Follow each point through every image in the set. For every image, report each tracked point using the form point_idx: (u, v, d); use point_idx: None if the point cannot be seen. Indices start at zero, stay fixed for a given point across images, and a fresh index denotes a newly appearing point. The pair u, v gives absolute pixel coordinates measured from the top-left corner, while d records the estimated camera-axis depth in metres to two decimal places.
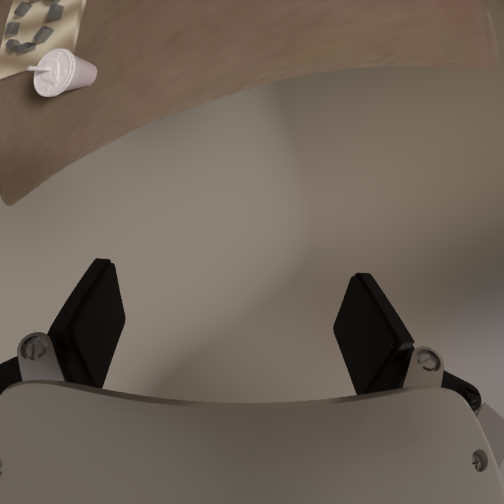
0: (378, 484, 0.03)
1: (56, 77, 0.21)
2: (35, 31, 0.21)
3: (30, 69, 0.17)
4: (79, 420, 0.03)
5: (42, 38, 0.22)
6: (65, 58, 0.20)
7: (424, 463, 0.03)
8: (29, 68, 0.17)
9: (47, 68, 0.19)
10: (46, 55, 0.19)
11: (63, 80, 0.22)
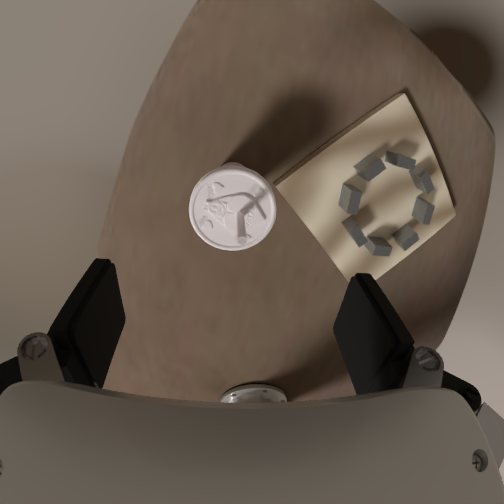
0: (378, 484, 0.03)
1: (213, 213, 0.20)
2: (374, 189, 0.28)
3: (238, 239, 0.16)
4: (79, 420, 0.03)
5: (346, 192, 0.27)
6: (226, 240, 0.21)
7: (424, 463, 0.03)
8: (240, 239, 0.16)
9: None
10: (268, 225, 0.20)
11: (198, 213, 0.20)
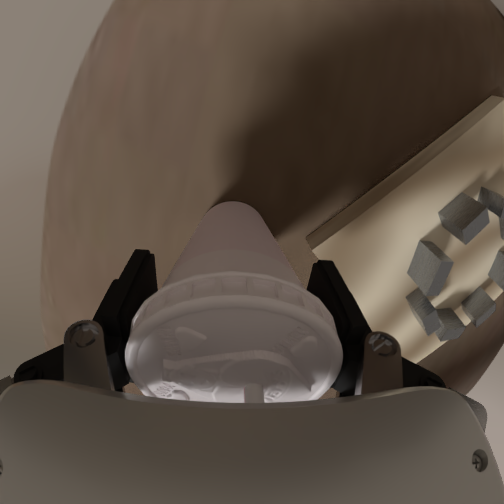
0: (378, 484, 0.03)
1: (185, 385, 0.07)
2: (457, 245, 0.15)
3: None
4: (79, 420, 0.03)
5: (427, 260, 0.14)
6: None
7: (424, 463, 0.03)
8: None
9: None
10: (316, 393, 0.08)
11: (153, 376, 0.07)
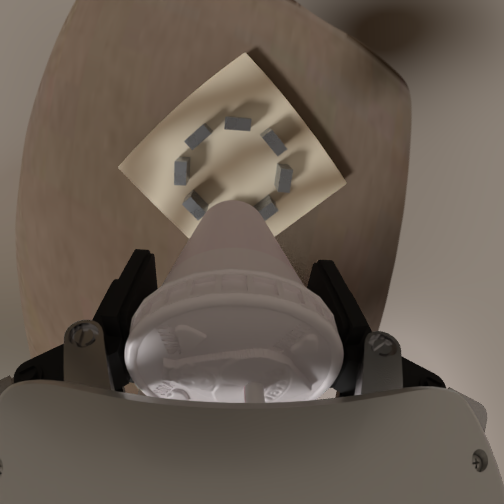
0: (378, 484, 0.03)
1: (185, 384, 0.07)
2: (217, 158, 0.27)
3: None
4: (79, 420, 0.03)
5: None
6: None
7: (424, 463, 0.03)
8: None
9: None
10: (317, 392, 0.08)
11: (153, 375, 0.07)
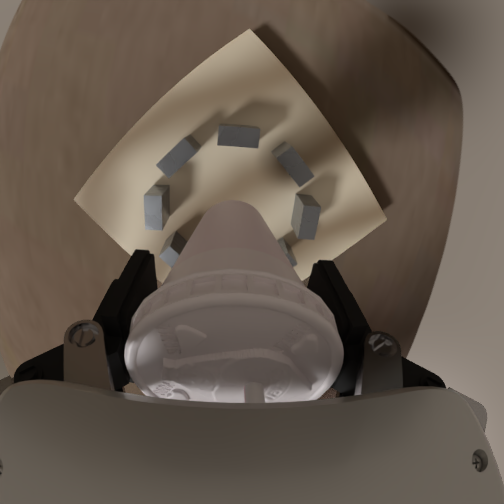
0: (378, 484, 0.03)
1: (185, 384, 0.07)
2: (208, 186, 0.19)
3: None
4: (79, 420, 0.03)
5: None
6: None
7: (424, 463, 0.03)
8: None
9: None
10: (317, 392, 0.08)
11: (153, 375, 0.07)
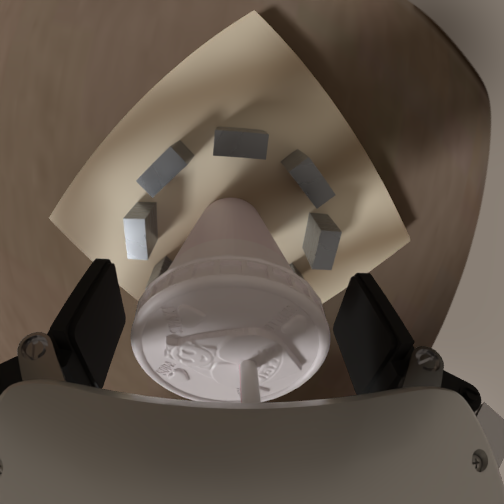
0: (378, 484, 0.03)
1: (185, 362, 0.08)
2: (203, 204, 0.16)
3: None
4: (79, 420, 0.03)
5: None
6: (219, 391, 0.09)
7: (424, 463, 0.03)
8: None
9: None
10: (307, 373, 0.09)
11: (156, 354, 0.08)
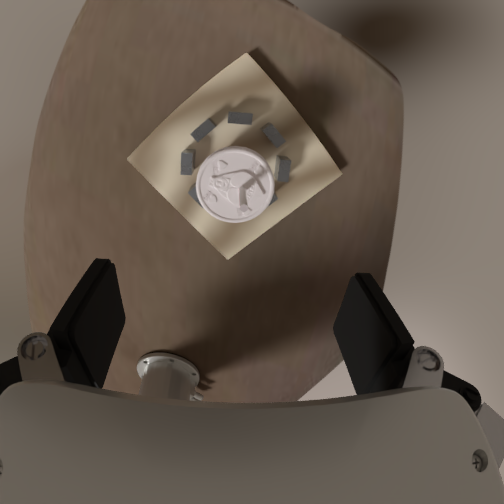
0: (378, 484, 0.03)
1: (217, 188, 0.22)
2: None
3: (240, 206, 0.18)
4: (79, 420, 0.03)
5: None
6: (229, 213, 0.23)
7: (424, 463, 0.03)
8: (242, 207, 0.18)
9: None
10: (267, 199, 0.22)
11: (204, 188, 0.22)
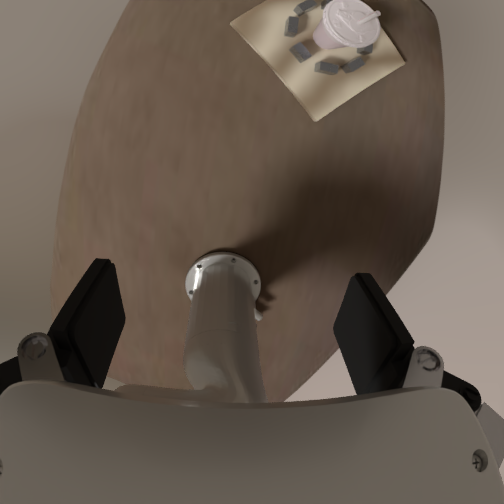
0: (378, 484, 0.03)
1: (342, 17, 0.19)
2: (315, 27, 0.27)
3: (375, 12, 0.16)
4: (79, 420, 0.03)
5: (287, 21, 0.25)
6: (349, 38, 0.20)
7: (424, 463, 0.03)
8: (376, 12, 0.16)
9: (361, 21, 0.19)
10: (376, 34, 0.20)
11: (331, 17, 0.19)
